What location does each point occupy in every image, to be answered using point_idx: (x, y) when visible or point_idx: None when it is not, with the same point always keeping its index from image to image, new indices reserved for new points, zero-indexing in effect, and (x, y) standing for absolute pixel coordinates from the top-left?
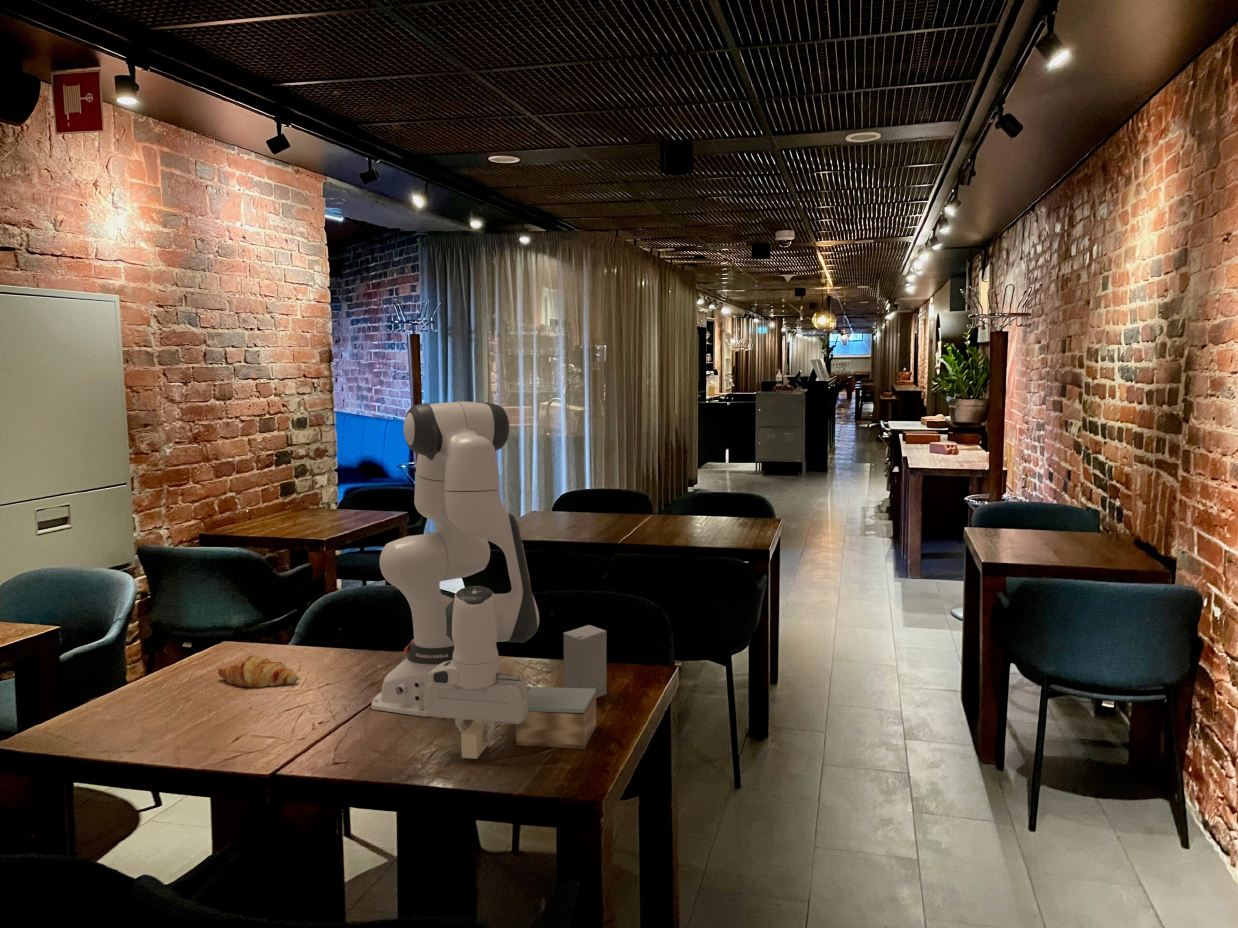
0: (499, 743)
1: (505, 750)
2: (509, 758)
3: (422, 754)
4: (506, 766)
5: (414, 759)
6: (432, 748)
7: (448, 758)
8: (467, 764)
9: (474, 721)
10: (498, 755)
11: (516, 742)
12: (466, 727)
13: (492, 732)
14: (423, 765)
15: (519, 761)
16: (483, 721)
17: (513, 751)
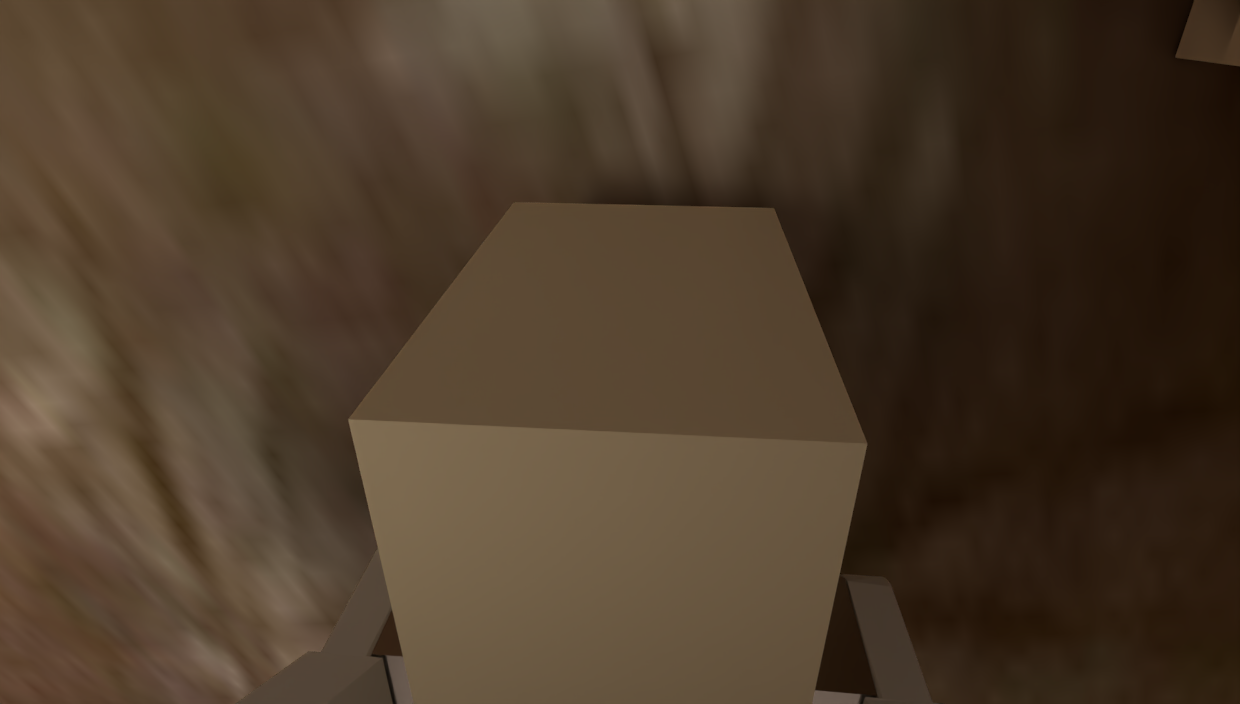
0: (858, 39)
1: (990, 291)
2: (1060, 501)
3: (67, 477)
4: (1032, 656)
5: (86, 572)
6: (43, 332)
7: (373, 539)
8: None
9: (438, 666)
10: (908, 439)
11: (1205, 60)
12: (364, 688)
13: (919, 688)
14: (245, 660)
15: (1190, 559)
16: (671, 652)
17: (1115, 310)
